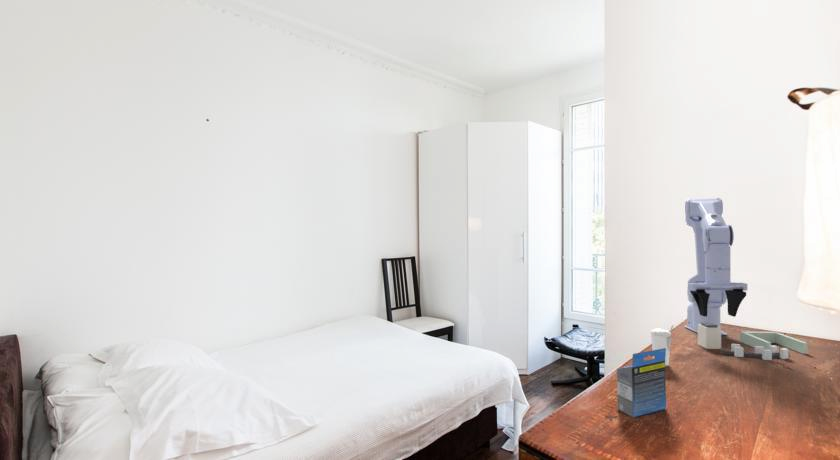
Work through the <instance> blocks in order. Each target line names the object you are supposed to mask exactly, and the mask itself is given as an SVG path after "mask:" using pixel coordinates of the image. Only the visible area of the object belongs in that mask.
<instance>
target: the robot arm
mask: <svg viewBox="0 0 840 460" xmlns="http://www.w3.org/2000/svg"><path fill="white" fill-rule="evenodd" d="M723 211H724V202H723V200H722V199H721V198H720V197H717V198H695V199H694V198H693V199H690V198H687V199H686V200H685V203H684V213H685V222H686V225H687V226H689V227H690V228H691V227H692V231H693V233H694V243H695V259H696V261H695V262H696V272H697V273H696V274H695V275H693V276H692V277H690V278H688V281H687V287H686V288H687V290H686V291H687V293H686V294H687V300H688V302H690V303H689V305H688V306H687V314H686V317H687V319H686V320H687V322H686V323H687V325H684V327H685V328H686V329H688V330H690V331H692V332H695V333H697V334H698V324H701V323H713V324H715V325H718V327H720V328H721V307H723V305H725V304H726V303H727V315H728V316H729V317H736V316H737V313H738V310H739V307H740V305H741V304H742V302H743V300H744V299H745V297H747V292H746V291H748V283H746V282H745V283H744V282H731V247H733V243H734V240H735V239H734V237H735V236H734V234H735V233H734V230H733V227H732V225H731V224H726V222H725V220H724V218H723V216H722V215H723V213H724V212H723ZM727 335H728V333H727V332H724V331H723V330H721V336H727Z"/></svg>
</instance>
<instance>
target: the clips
mask: <svg viewBox="0 0 840 460" xmlns="http://www.w3.org/2000/svg"><path fill="white" fill-rule="evenodd" d="M730 347H731V349H730V351H734V355H733V356H734V357H736V358H744V357H745V356H744V352H745V351H744V347H743V346H741V344H739V343H731V345H730ZM779 352H780V357H779V358H780V359H781V360H787V359H789V355H788V352H789V348H787V347H783V348H782V347H781V348H779ZM754 353H756V354H762V358H761V360H764V361H772V360H773V358H772V353H778V346H777V345H772V344H771V346H769V350H764V347H762V346H755V348H754Z"/></svg>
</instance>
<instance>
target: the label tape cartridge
mask: <svg viewBox="0 0 840 460" xmlns="http://www.w3.org/2000/svg"><path fill="white" fill-rule="evenodd" d="M665 355H666V348H663V349H658V350H652V349H651V350H647V351H642V352H635V353H632V361H631V362H632V365H629V366H624V367H619V368H617V369H616V374H617V375H616V379H617V381H616V383H617V395H616V398H617V410H618V411H620V413H623V414H625V415H626V416H628V417H631V418H636V417H640V416H645V415H647V414H652V413H655V412H659V411H664V410H667V386H666V385H667V384H666V383H667V382H666V366H665ZM649 356H650V357H653V356H654V357H655V358H654V359H653V358H651V359H646V358H649ZM644 359H646V360H644Z"/></svg>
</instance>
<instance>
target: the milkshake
mask: <svg viewBox="0 0 840 460" xmlns="http://www.w3.org/2000/svg"><path fill="white" fill-rule="evenodd" d="M673 328H674V325H671V327H670V329H669V330H668V329H667V330H666V329H663V328H660V327H658V328H657V327H656V328H653V329H651V330H650V338H651V339H650V340H651V347H652V348H651V351H652V350H658V349H663V348H666V355H665V367H668V366H669V365H670V353H671V344H672V343H671V342H672V333H671V332H672V330H673ZM654 358H655V357H654V356H652V359H654Z"/></svg>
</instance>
